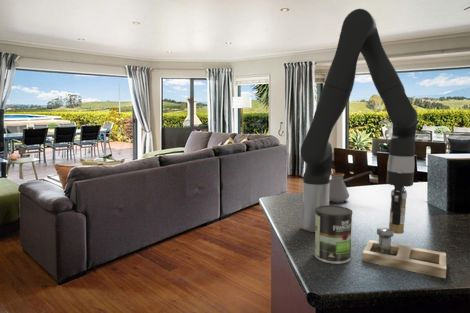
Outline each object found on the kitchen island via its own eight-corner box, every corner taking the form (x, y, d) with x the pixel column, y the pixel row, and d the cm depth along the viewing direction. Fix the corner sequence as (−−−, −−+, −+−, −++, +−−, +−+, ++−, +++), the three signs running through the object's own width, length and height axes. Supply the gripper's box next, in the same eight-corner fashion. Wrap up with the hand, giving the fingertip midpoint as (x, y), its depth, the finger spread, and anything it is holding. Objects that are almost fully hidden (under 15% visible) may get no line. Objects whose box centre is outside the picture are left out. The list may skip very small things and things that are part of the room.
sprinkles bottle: (385, 229, 108) (388, 189, 106) (398, 229, 108) (401, 189, 106) (393, 234, 103) (396, 193, 101) (407, 234, 104) (410, 192, 102)
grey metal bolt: (374, 258, 95) (375, 231, 94) (377, 253, 98) (378, 226, 97) (391, 262, 92) (392, 233, 91) (393, 256, 96) (394, 229, 95)
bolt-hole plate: (362, 260, 93) (362, 252, 93) (369, 247, 102) (369, 239, 102) (445, 278, 83) (446, 269, 82) (445, 261, 92) (445, 253, 92)
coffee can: (358, 259, 94) (360, 212, 92) (330, 267, 90) (331, 217, 88) (334, 247, 103) (335, 203, 102) (307, 253, 99) (307, 207, 97)
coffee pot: (323, 202, 155) (323, 171, 153) (325, 196, 165) (325, 167, 164) (372, 206, 148) (373, 173, 146) (370, 199, 159) (371, 169, 157)
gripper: (390, 165, 111) (387, 214, 113) (384, 172, 99) (380, 226, 101) (415, 167, 107) (411, 218, 109) (412, 174, 95) (408, 231, 97)
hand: (396, 221), depth 105 cm, fingers closed on sprinkles bottle, 4 cm apart
